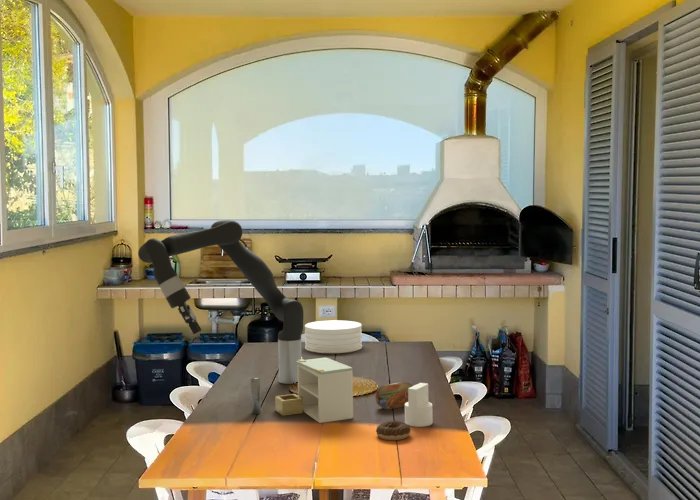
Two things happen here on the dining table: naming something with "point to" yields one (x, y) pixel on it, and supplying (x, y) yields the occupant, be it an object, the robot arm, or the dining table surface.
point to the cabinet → (325, 389)
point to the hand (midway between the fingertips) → (197, 332)
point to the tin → (393, 395)
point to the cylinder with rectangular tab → (418, 406)
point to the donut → (393, 430)
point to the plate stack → (333, 336)
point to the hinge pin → (255, 396)
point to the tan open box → (289, 404)
